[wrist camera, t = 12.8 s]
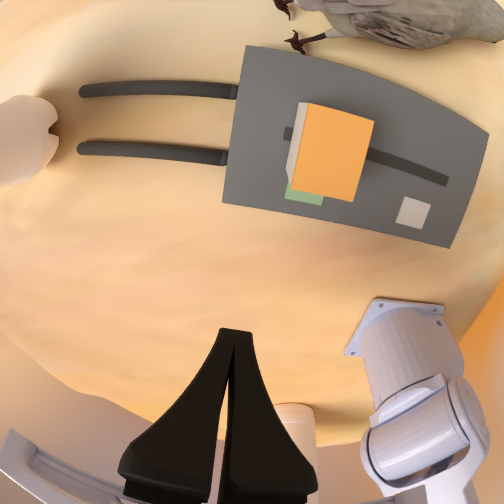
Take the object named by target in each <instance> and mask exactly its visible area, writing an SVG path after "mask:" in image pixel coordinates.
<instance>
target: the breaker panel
mask: <svg viewBox="0 0 504 504" xmlns="http://www.w3.org/2000/svg"><path fill="white" fill-rule="evenodd" d="M299 102H301V103H312V104H316V105H320V106H324V107H328V108H332V109H336V110H339V111H343V112H346V113H350V114H353V115H356V116H360V117H363V118H366V119H369V120H372V121H374V125H373V130H372V134H371V138H370V142H369V146H368V150H367V153H366V157H365V161H364V165H363V168H362V172H361V175H360V179H359V182H358V186H357V189H356V193H355V196H354V199H353V202H349V201H345V200H341V199H336V198H332V197H327V196H322V195H318V194H313V193H308V192H303V191H298V190H293V189H291V187H290V183H289V179H288V175H287V171H286V164H287V159H288V154H289V149H290V144H291V139H292V134H293V129H294V124H295V119H296V114H297V109H298V104H299ZM488 137H489V134H488V133H487V132H485V131H484V130H482V129H481V128H479V127H478V126H476V125H475V124H473V123H471V122H470V121H468V120H466V119H465V118H463V117H461V116H460V115H458V114H456V113H455V112H453V111H451V110H449V109H447V108H446V107H444V106H442V105H440V104H438V103H436V102H434V101H432V100H430V99H428V98H426V97H424V96H422V95H420V94H418V93H416V92H414V91H411V90H409V89H407V88H405V87H402V86H400V85H398V84H395V83H393V82H390V81H388V80H385V79H383V78H380V77H377V76H375V75H372V74H369V73H366V72H363V71H360V70H357V69H354V68H351V67H348V66H345V65H341V64H338V63H334V62H331V61H327V60H323V59H319V58H315V57H311V56H307V55H302V54H297V53H292V52H287V51H282V50H276V49H270V48H263V47H256V46H248V45H246V48H245V53H244V59H243V64H242V70H241V76H240V82H239V88H238V94H237V100H236V106H235V113H234V119H233V126H232V132H231V139H230V146H229V153H228V160H227V168H226V175H225V183H224V191H223V199H222V203H227V204H234V205H240V206H246V207H252V208H258V209H264V210H270V211H276V212H282V213H287V214H293V215H298V216H304V217H309V218H314V219H319V220H324V221H329V222H334V223H339V224H344V225H349V226H354V227H359V228H363V229H368V230H372V231H377V232H381V233H386V234H390V235H395V236H399V237H403V238H407V239H412V240H416V241H420V242H424V243H428V244H432V245H436V246H440V247H444V248H448V249H450V246H451V244H452V242H453V240H454V238H455V235H456V233H457V231H458V228H459V226H460V224H461V221H462V219H463V216H464V214H465V211H466V209H467V206H468V203H469V201H470V198H471V195H472V192H473V189H474V187H475V184H476V180H477V177H478V174H479V171H480V168H481V164H482V161H483V157H484V153H485V150H486V146H487V141H488Z"/></svg>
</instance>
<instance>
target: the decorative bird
mask: <svg viewBox="0 0 504 504" xmlns="http://www.w3.org/2000/svg"><path fill="white" fill-rule="evenodd" d="M291 2H295V4H296V5H298V6H299V7H301V8H302V9H303V10H306V11H319V10H320V11H321V12H322V13H323V14H324V15H325V16H326V18H327V19H328V21H329V22H330V24H331V25H332V26H333V27H334V28H332V29H330V30H327V31H326V32H325V33H322V34H319V35H316V36H314V37H310V38H306V39H302V40H298V33H297V32H296V31H294V30H292V31H293V32H295V34H294V37H293V38H291V39H287V40H285V42H290V43H291V45H292V47H293V49H294V50H297V51H300V52H301V53H302V54H303V55H305V51H304V50H303V48H302V46H303V44H304V43H308V42H312V41H317V40H321V39H324V38H340V37H367V38H370V39H372V40H375V41H377V42H380V43H382V44H385V45H389V46H394V47H398V48H404V49H410V50H421V49H429V48H432V47H436V46H439V45H443V44H447V43H450V42H451V41H453V40H455V39H459V38H476V39H479V40H482V41H485V42H492V43H496V42H498V41H501V40H504V10H503V9H502V7H501V6H500V5H499V4H498V3H497V2H496V1H494V0H274V3H275V5H276V7H277V8H278V9H279V10H281V11H284V12H285V13H286V14H287V15H289V20H290V18H291V17H290V12H289V11H288V9H287V8H288V5H287V4H288V3H291ZM300 46H301V47H300Z"/></svg>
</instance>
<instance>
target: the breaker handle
mask: <svg viewBox="0 0 504 504" xmlns="http://www.w3.org/2000/svg"><path fill="white" fill-rule="evenodd" d="M373 125H374V121H372V120H369V119H366V118H363V117H360V116H356V115H353V114H350V113H346V112H343V111H339V110H336V109H332V108H328V107H324V106H320V105H316V104H312V103H301V102H299V104H298V109H297V114H296V119H295V124H294V129H293V134H292V139H291V144H290V149H289V154H288V159H287V164H286V171H287V175H288V179H289V183H290V187H291V189H293V190H298V191H303V192H308V193H313V194H318V195H322V196H327V197H332V198H336V199H341V200H345V201H349V202H353V199H354V196H355V193H356V189H357V186H358V182H359V179H360V175H361V172H362V168H363V165H364V161H365V157H366V153H367V150H368V146H369V142H370V138H371V134H372V130H373Z"/></svg>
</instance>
